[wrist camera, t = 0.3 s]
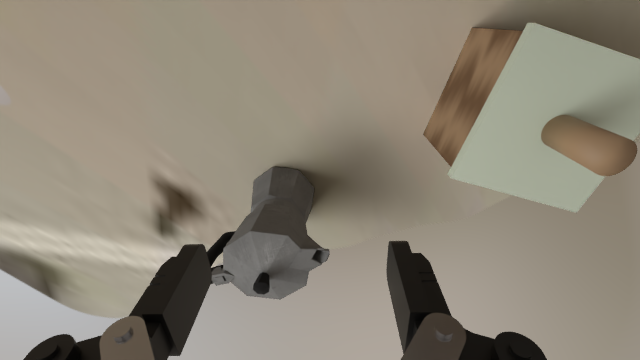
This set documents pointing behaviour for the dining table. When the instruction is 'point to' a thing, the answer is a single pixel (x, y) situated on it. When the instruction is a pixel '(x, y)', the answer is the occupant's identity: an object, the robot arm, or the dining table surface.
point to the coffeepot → (271, 239)
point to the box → (469, 88)
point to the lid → (554, 121)
